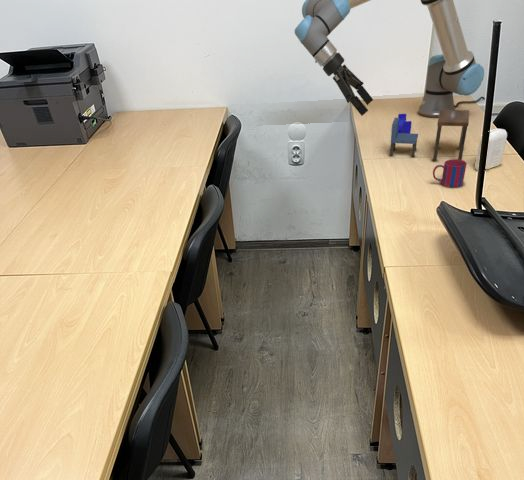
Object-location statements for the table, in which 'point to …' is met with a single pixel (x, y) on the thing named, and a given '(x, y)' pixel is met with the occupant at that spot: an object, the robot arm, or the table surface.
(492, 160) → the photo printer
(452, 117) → the desk
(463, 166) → the mug
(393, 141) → the chair
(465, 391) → the table surface
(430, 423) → the table surface
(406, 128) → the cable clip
